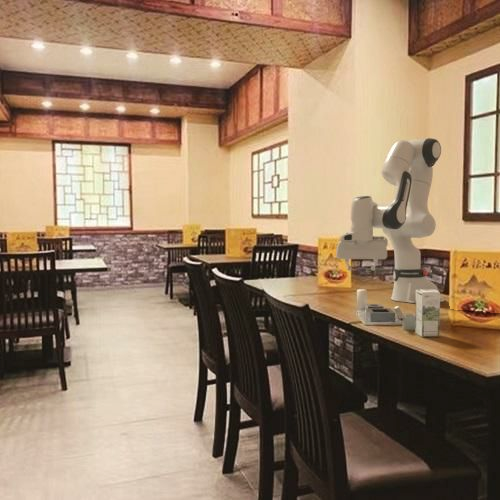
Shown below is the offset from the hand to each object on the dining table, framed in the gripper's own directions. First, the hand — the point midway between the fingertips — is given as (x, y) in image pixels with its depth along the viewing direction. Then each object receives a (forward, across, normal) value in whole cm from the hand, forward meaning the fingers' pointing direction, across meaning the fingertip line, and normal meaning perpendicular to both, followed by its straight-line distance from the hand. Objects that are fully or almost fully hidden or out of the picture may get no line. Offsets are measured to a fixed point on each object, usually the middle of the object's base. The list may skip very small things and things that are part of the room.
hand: (361, 270), depth 199 cm
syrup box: (+17, -14, +44) cm, 49 cm away
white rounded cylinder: (+16, -1, 0) cm, 16 cm away
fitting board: (+16, -3, +18) cm, 24 cm away
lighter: (+17, -9, +36) cm, 40 cm away
